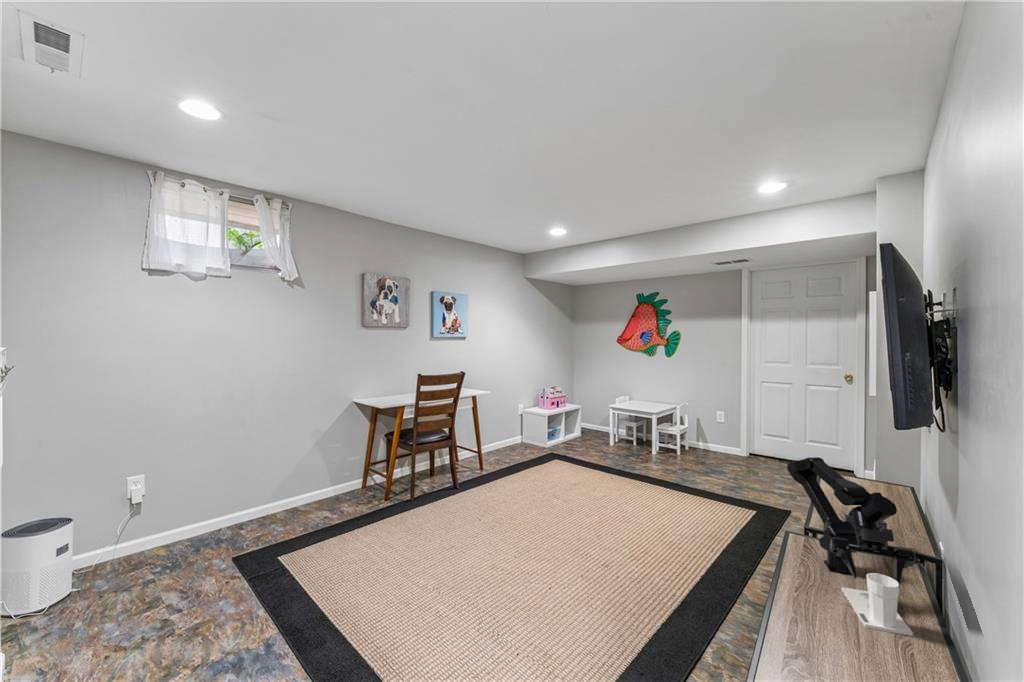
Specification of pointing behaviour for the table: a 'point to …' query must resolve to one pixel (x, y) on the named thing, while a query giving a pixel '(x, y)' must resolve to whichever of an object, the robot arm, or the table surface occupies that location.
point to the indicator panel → (862, 609)
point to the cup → (882, 599)
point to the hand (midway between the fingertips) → (876, 582)
